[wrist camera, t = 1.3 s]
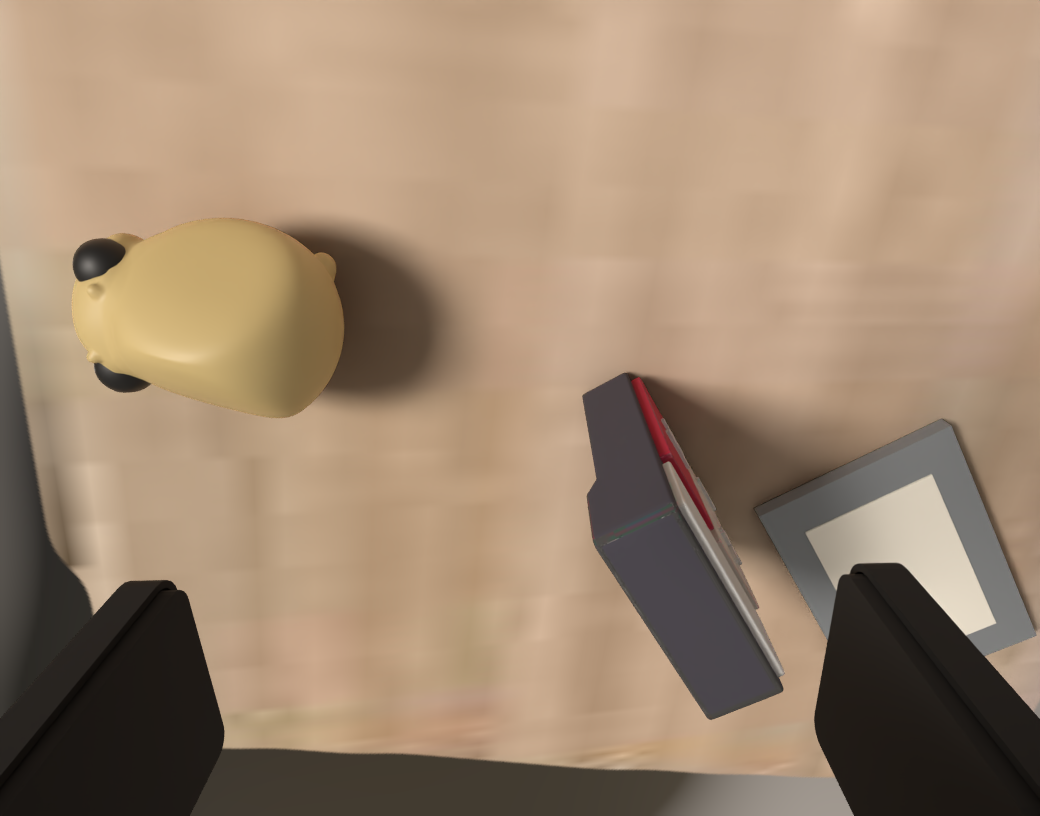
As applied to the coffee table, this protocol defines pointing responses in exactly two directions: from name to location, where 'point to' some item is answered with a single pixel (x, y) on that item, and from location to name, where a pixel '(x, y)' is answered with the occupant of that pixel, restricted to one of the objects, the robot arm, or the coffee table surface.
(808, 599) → the slate picture frame
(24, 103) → the coffee table surface
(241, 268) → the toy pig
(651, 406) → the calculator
